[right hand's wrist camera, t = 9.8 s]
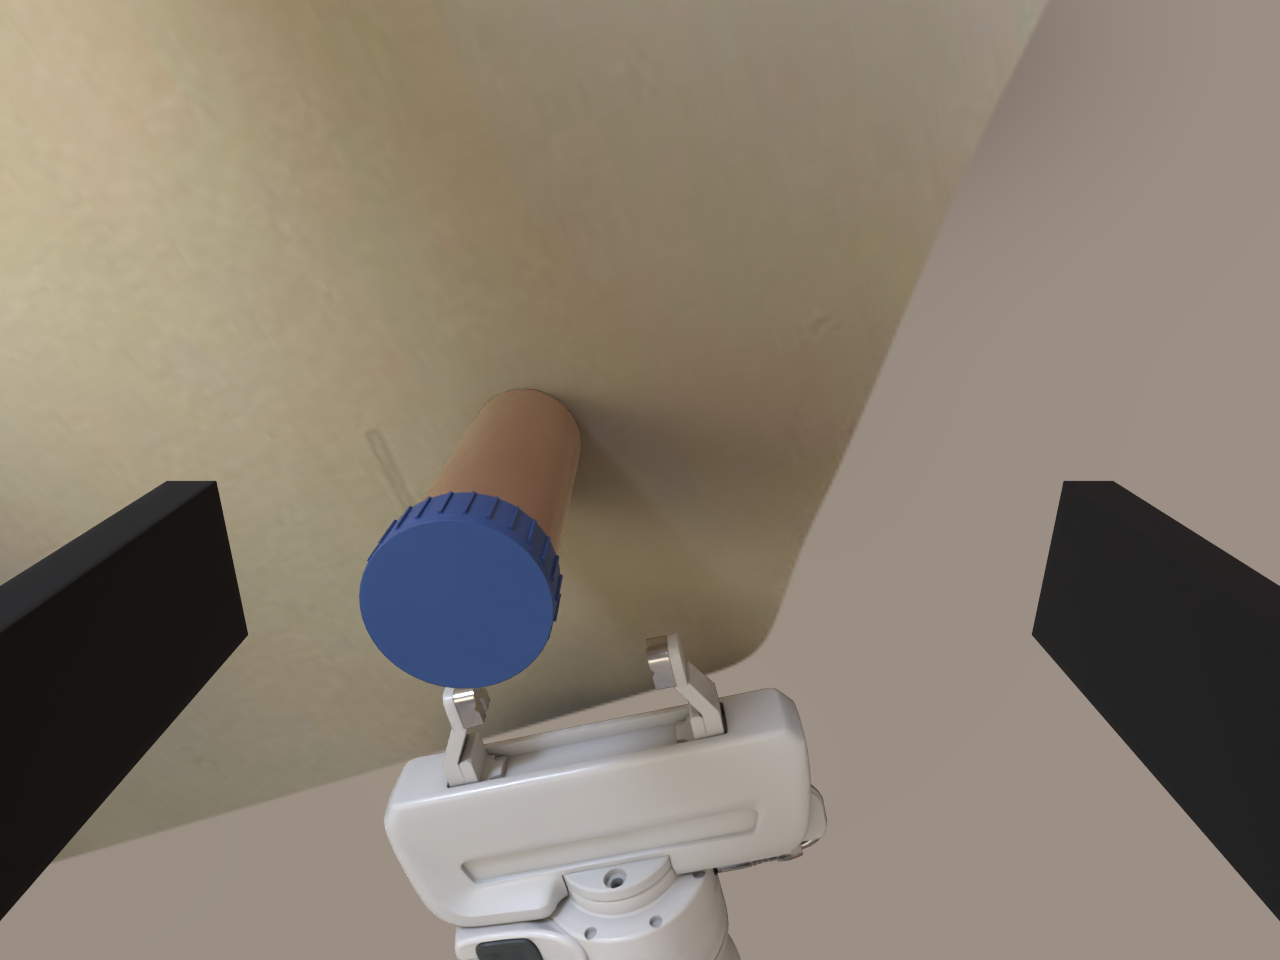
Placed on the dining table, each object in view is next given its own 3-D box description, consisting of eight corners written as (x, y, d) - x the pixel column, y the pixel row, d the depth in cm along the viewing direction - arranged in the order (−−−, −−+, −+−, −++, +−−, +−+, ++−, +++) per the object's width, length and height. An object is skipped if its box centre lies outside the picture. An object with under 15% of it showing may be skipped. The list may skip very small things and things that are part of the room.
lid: (546, 478, 24) (537, 506, 22) (575, 642, 26) (570, 681, 24) (358, 500, 24) (333, 529, 22) (403, 660, 27) (383, 700, 25)
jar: (572, 382, 37) (531, 511, 23) (588, 486, 39) (560, 664, 25) (461, 395, 37) (352, 531, 23) (483, 498, 39) (394, 682, 25)
